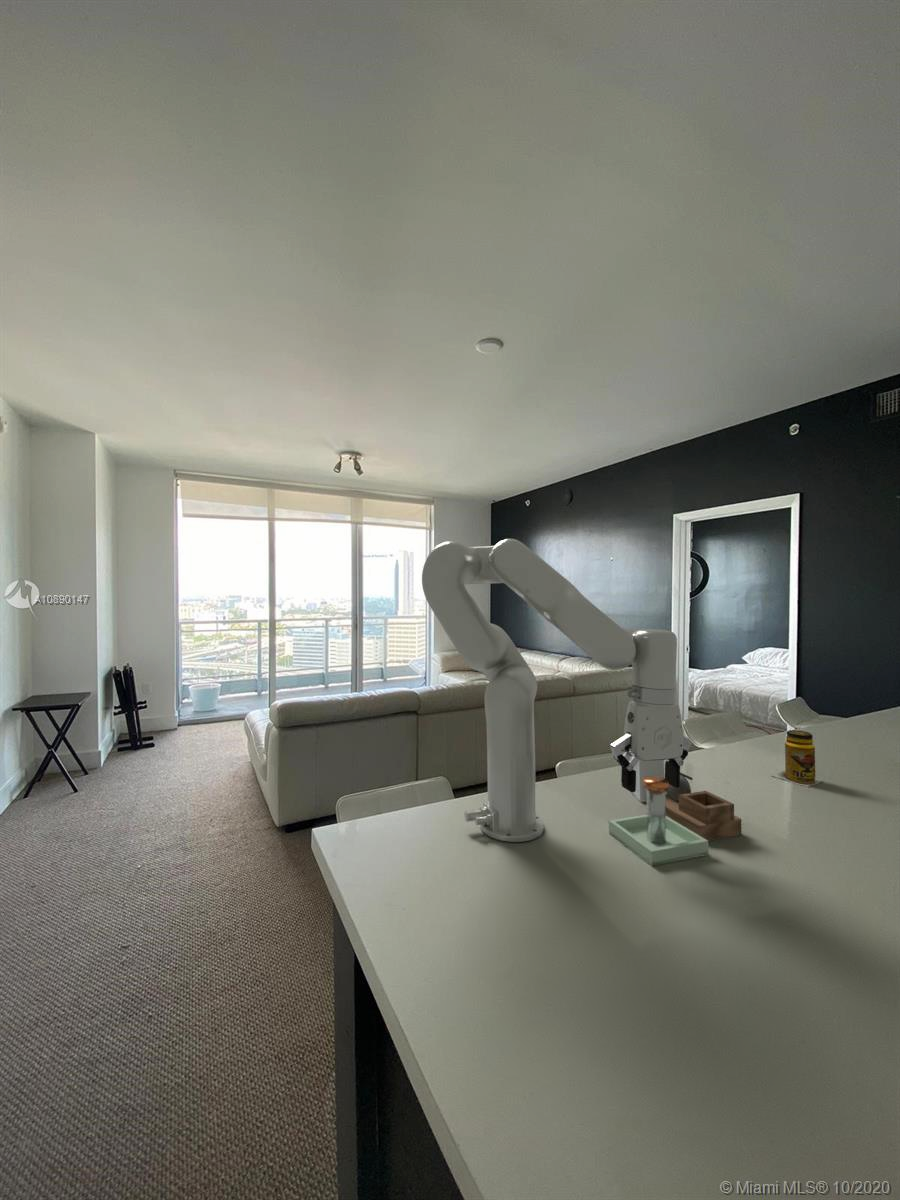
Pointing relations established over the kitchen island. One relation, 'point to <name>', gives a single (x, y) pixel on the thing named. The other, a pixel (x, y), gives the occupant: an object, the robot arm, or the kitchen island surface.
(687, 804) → the brown wooden stepped holder
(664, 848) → the tray
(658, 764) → the small box
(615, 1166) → the kitchen island surface
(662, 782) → the lock pin
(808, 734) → the condiment
